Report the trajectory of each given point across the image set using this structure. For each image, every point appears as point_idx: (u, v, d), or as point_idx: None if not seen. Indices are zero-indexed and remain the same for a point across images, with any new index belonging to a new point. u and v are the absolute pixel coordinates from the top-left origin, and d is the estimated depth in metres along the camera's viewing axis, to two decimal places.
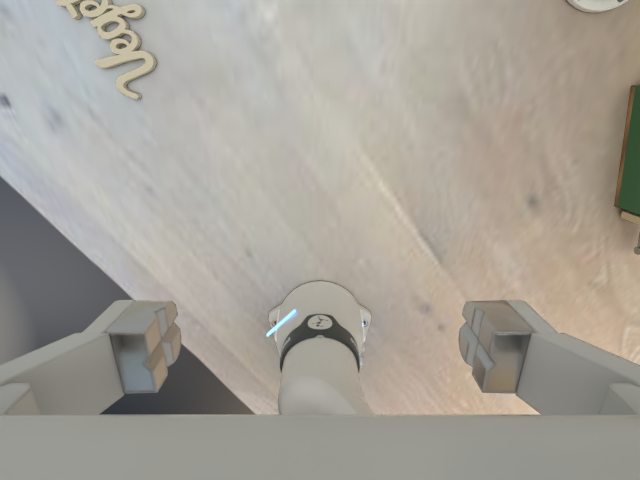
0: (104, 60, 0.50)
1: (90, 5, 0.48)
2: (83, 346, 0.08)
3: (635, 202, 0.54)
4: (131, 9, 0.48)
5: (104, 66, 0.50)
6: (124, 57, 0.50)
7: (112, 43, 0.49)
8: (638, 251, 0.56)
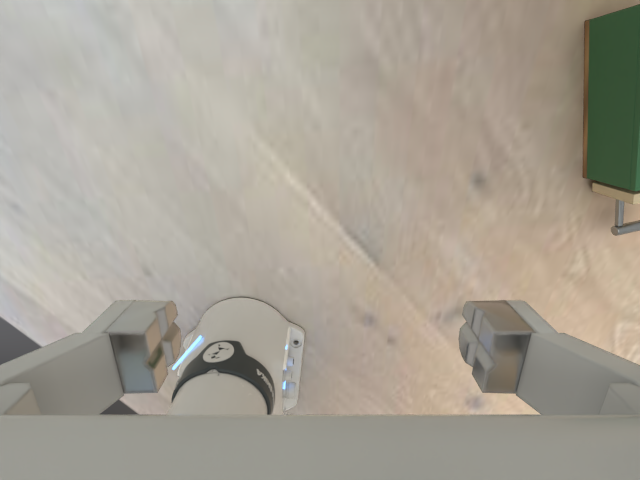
0: None
1: None
2: (83, 346, 0.08)
3: (605, 169, 0.43)
4: None
5: None
6: None
7: None
8: (616, 231, 0.44)
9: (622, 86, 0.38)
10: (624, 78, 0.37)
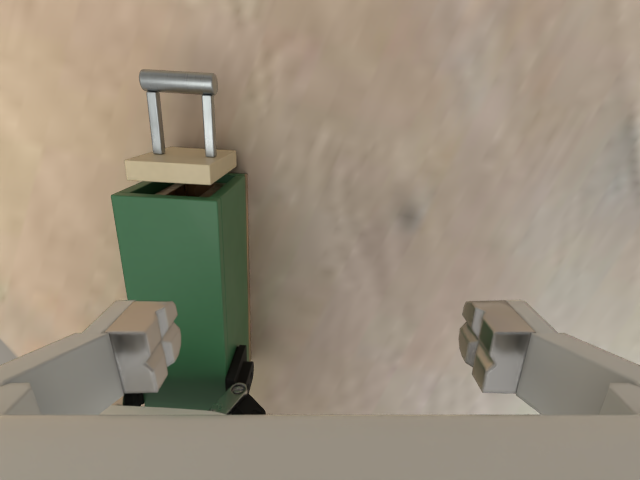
0: None
1: None
2: (83, 346, 0.08)
3: (236, 207, 0.25)
4: None
5: None
6: None
7: None
8: (213, 84, 0.22)
9: (233, 334, 0.27)
10: (233, 344, 0.27)
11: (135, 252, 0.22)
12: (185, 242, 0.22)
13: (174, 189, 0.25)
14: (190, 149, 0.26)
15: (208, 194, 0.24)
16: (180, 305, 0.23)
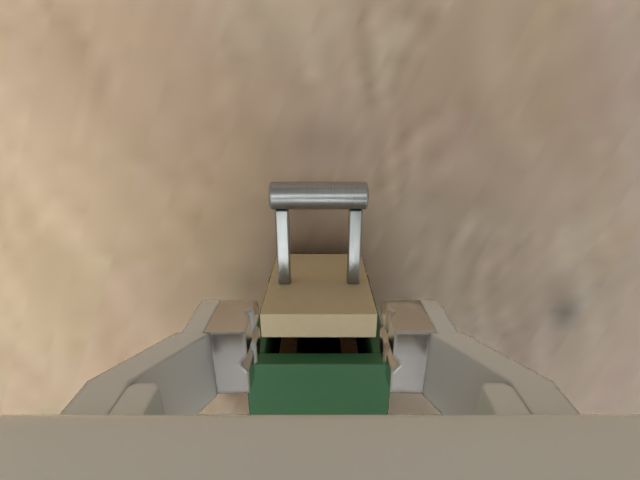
0: None
1: None
2: (188, 346, 0.08)
3: None
4: None
5: None
6: None
7: None
8: (367, 197, 0.16)
9: None
10: None
11: None
12: (341, 413, 0.16)
13: None
14: (307, 259, 0.20)
15: None
16: None
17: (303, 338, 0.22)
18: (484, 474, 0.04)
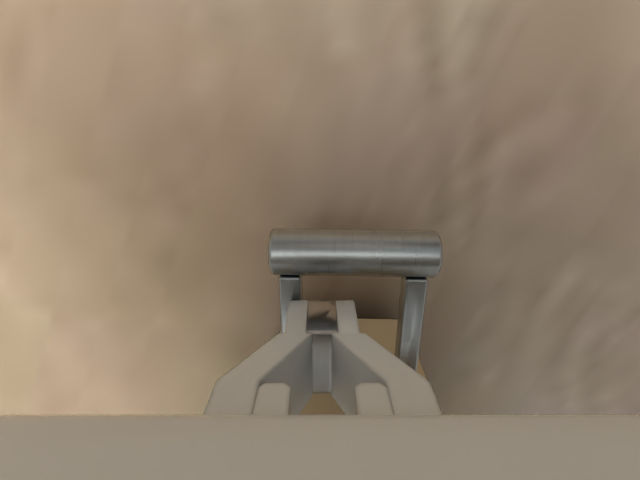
0: None
1: None
2: (296, 346, 0.08)
3: None
4: None
5: None
6: None
7: None
8: None
9: None
10: None
11: None
12: None
13: None
14: None
15: None
16: None
17: None
18: (484, 474, 0.04)
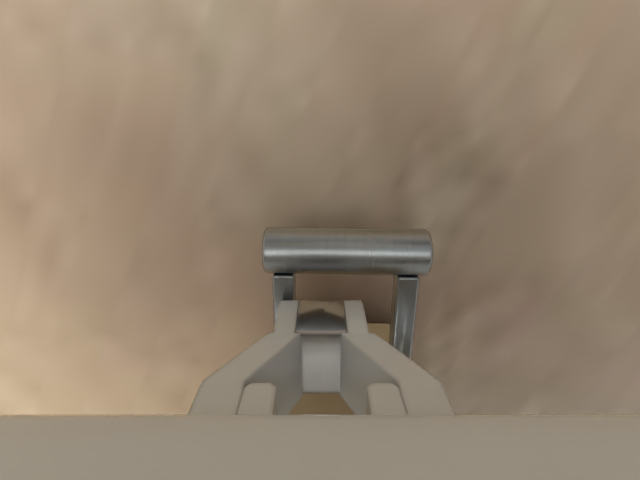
0: None
1: None
2: (285, 346, 0.08)
3: None
4: None
5: None
6: None
7: None
8: None
9: None
10: None
11: None
12: None
13: None
14: None
15: None
16: None
17: None
18: (484, 474, 0.04)
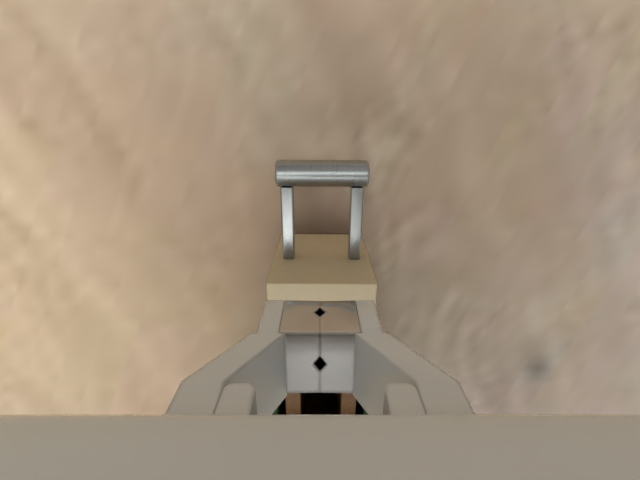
0: None
1: None
2: (268, 346, 0.08)
3: None
4: None
5: None
6: None
7: None
8: None
9: None
10: None
11: None
12: None
13: None
14: (310, 238, 0.21)
15: None
16: None
17: None
18: (484, 474, 0.04)
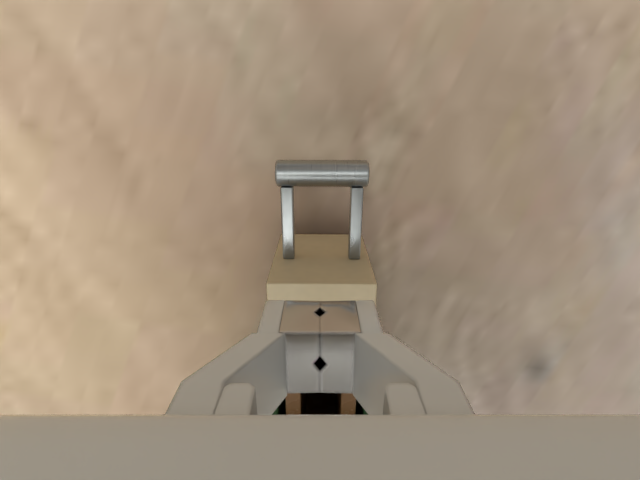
0: None
1: None
2: (268, 346, 0.08)
3: None
4: None
5: None
6: None
7: None
8: None
9: None
10: None
11: None
12: None
13: None
14: (310, 238, 0.21)
15: None
16: None
17: None
18: (484, 474, 0.04)
